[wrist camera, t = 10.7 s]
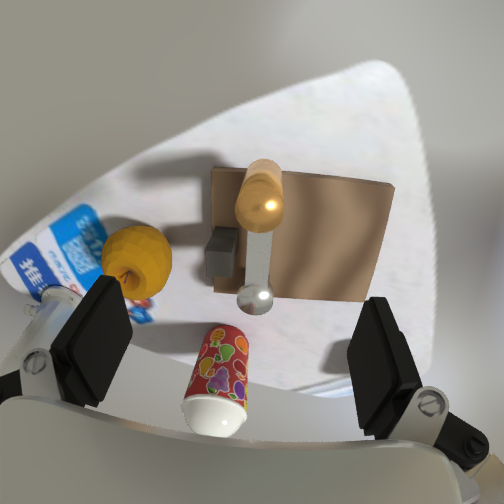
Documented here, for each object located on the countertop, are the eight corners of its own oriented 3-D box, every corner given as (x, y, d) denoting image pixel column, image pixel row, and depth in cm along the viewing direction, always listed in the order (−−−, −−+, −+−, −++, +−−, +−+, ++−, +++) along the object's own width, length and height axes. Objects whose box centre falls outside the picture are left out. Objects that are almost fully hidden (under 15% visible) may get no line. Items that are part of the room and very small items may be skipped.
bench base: (215, 285, 40) (205, 321, 34) (214, 166, 32) (199, 187, 26) (362, 295, 40) (373, 331, 34) (390, 183, 31) (414, 206, 25)
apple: (110, 228, 37) (76, 263, 30) (157, 199, 35) (126, 233, 27) (146, 277, 41) (121, 319, 33) (194, 255, 38) (175, 299, 31)
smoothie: (202, 351, 48) (175, 461, 31) (199, 314, 43) (164, 437, 26) (252, 357, 47) (241, 470, 30) (256, 320, 43) (243, 449, 26)
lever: (271, 305, 36) (269, 369, 28) (238, 302, 36) (227, 365, 28) (287, 156, 27) (293, 190, 19) (244, 153, 27) (229, 185, 19)
